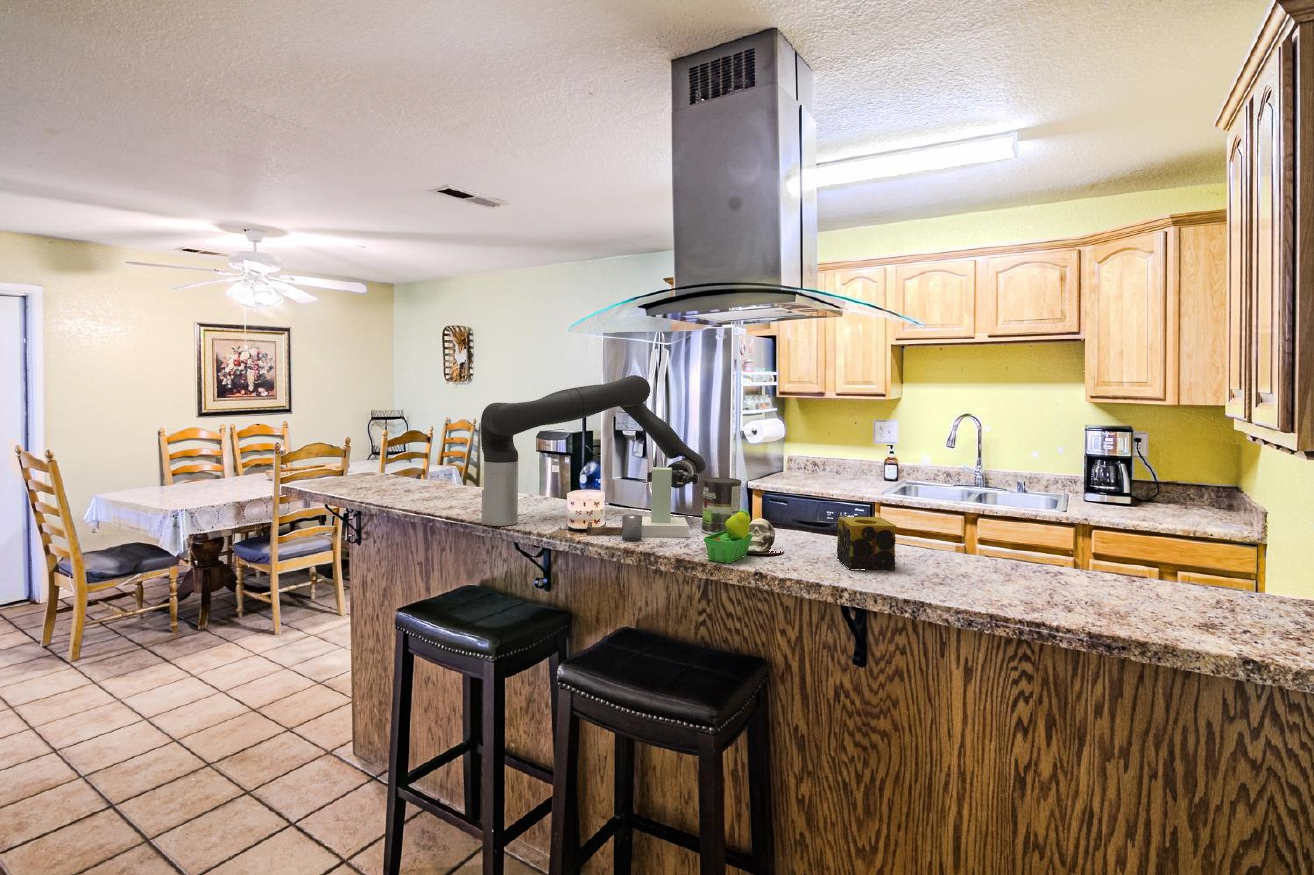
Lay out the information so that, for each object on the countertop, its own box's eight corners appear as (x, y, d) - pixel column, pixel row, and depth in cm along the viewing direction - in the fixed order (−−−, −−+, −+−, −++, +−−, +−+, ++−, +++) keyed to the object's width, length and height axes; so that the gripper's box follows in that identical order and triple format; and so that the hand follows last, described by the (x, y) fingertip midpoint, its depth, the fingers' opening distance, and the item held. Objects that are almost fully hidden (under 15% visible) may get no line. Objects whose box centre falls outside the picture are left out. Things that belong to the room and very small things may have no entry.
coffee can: (713, 536, 178) (715, 482, 177) (694, 529, 187) (696, 477, 186) (747, 534, 182) (749, 481, 181) (727, 527, 192) (729, 476, 191)
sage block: (651, 522, 180) (652, 469, 179) (651, 519, 185) (653, 467, 184) (670, 523, 179) (671, 469, 178) (670, 519, 184) (671, 467, 183)
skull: (780, 555, 154) (751, 519, 157) (747, 580, 158) (719, 545, 161) (794, 543, 165) (767, 509, 168) (763, 567, 169) (737, 534, 172)
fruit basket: (723, 551, 162) (724, 503, 161) (758, 556, 157) (760, 507, 157) (701, 560, 152) (702, 510, 151) (738, 566, 148) (739, 514, 147)
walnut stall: (586, 535, 177) (586, 527, 176) (588, 527, 187) (589, 519, 187) (629, 535, 177) (629, 527, 177) (629, 527, 188) (629, 520, 187)
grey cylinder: (622, 541, 170) (622, 517, 170) (621, 537, 175) (621, 514, 174) (642, 541, 170) (643, 517, 170) (640, 537, 175) (641, 514, 175)
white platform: (637, 536, 176) (637, 525, 175) (636, 527, 188) (637, 516, 187) (688, 537, 176) (688, 525, 176) (684, 528, 188) (684, 517, 188)
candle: (879, 560, 156) (881, 516, 156) (896, 571, 146) (898, 525, 146) (835, 559, 156) (837, 516, 155) (849, 571, 146) (851, 524, 145)
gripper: (656, 460, 205) (643, 465, 189) (703, 462, 202) (694, 467, 186) (655, 485, 205) (642, 492, 190) (703, 487, 202) (693, 495, 187)
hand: (668, 480), depth 188 cm, fingers open, 8 cm apart
